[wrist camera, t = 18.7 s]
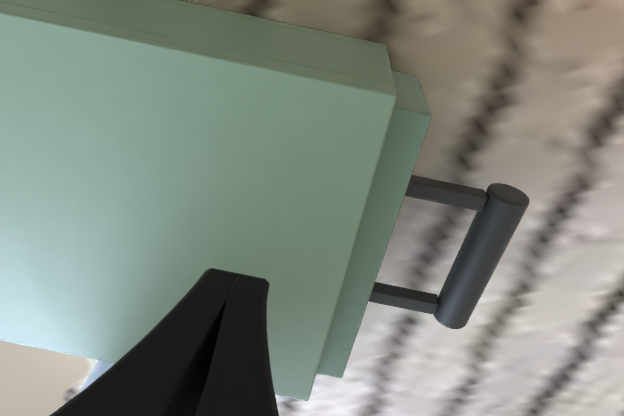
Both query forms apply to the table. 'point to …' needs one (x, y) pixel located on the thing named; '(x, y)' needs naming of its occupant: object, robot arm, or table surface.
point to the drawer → (381, 219)
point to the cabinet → (179, 169)
